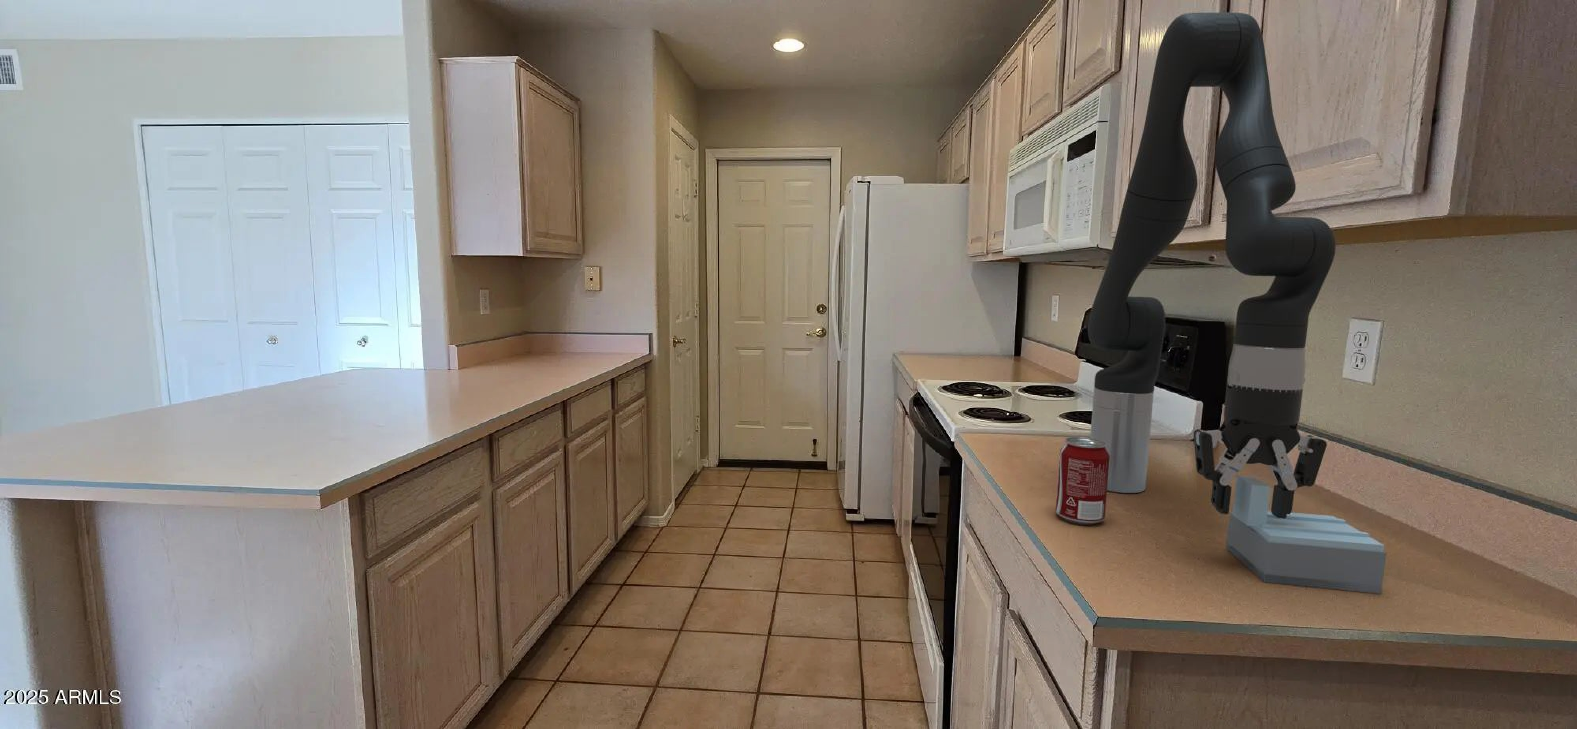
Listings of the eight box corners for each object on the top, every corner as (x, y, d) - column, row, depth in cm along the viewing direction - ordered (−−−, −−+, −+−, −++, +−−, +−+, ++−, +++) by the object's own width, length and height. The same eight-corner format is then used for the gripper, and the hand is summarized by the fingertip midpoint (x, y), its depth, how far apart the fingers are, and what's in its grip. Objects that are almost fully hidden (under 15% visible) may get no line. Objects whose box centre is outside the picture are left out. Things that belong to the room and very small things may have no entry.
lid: (1222, 513, 86) (1226, 469, 85) (1332, 521, 83) (1338, 477, 82) (1258, 540, 76) (1263, 492, 76) (1383, 551, 74) (1390, 501, 73)
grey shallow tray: (1226, 548, 86) (1230, 513, 86) (1328, 557, 84) (1333, 521, 83) (1263, 582, 77) (1268, 542, 76) (1380, 593, 74) (1386, 552, 73)
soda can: (1110, 529, 93) (1116, 448, 91) (1060, 524, 94) (1066, 445, 92) (1097, 512, 99) (1103, 437, 98) (1051, 509, 101) (1056, 434, 99)
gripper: (1313, 380, 81) (1297, 509, 83) (1187, 375, 84) (1175, 499, 86) (1351, 390, 73) (1333, 531, 75) (1212, 384, 76) (1198, 519, 78)
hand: (1249, 513), depth 81 cm, fingers open, 5 cm apart
